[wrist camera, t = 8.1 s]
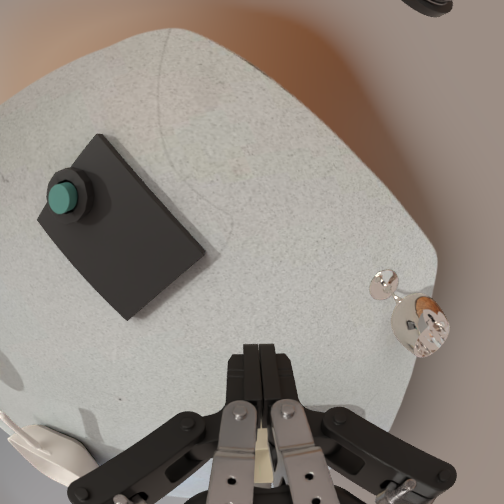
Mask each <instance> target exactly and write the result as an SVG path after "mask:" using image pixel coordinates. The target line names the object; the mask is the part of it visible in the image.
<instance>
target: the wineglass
mask: <svg viewBox="0 0 504 504" xmlns="http://www.w3.org/2000/svg"><path fill="white" fill-rule="evenodd" d="M397 286H398V276H397V274H396V273H395V272H394V271H393V270H389V269H387V270H383V271H381V272H379V273H377V274H376V275H375V276H374V278H373V279H372V281H371V283H370V286H369V291H370V294H371V296H372V297H373V298H374V299H376V300H384V299H386V298H388V297H390V296H392V297H393V298H394V300H395V302H396V304H397V305H396V306H395V308H394V310H393V313H392V316H391V327H392V331H393V333H394V335H395V337H396V338H397V340H398V341H399V342H400V343H401V344H402V345H403V346H404V347H405V348H406V349H407V350H409V351H410V352H411V353H413V354H414V355H415V356H417V357H426V356H429V355H430V354H432V353H434V352H435V351H436V350H438V349H439V348H440V347H441V346H442V344H443V343H444V342H445V340H446V338H447V336H448V334H449V330H450V325H449V323H448V321H447V319H446V317H445V315H444V313H443V311H442V310H441V308H440V307H439V306H438V304H437V303H436V302H435V301H434V300H433V299H432V298H430V297H429V296H427V295H425V294H422V293H413V294H410V295H407V296H406V297H404V298H403V299H402V298H400V297H398V296H397V295H395V294H394V292H395V290H396V288H397Z"/></svg>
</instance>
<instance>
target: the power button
mask: <svg viewBox="0 0 504 504" xmlns="http://www.w3.org/2000/svg"><path fill="white" fill-rule="evenodd" d="M77 200H78V194H77V190H76V188H75V187H74V185H73V184H71V183H69V182H64V183H61V184H57V185H55V186H53V187H52V189H51V190H50V192H49V205H50V207H51V209H52V210H53V211H54V212H55V213H57V214H63V213H65V212H67V211H70V210H72V209H73V208H74V207H75V206H76V204H77Z"/></svg>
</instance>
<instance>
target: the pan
mask: <svg viewBox="0 0 504 504" xmlns="http://www.w3.org/2000/svg"><path fill="white" fill-rule="evenodd" d="M0 418H1V419H2V420H3V421H4V422H5V423H6V424H7V425H8V426H9V427H10V428H11V429H12V430H14V431H15V433H14V434H13V435H12V436H11V437H9V438H8V441H9V442H10V443H11V444H12V446H13V447H14V448H15V449H16V450H17V451H18V452H19V453H20V454H21V455H22V456H23V457H24V458H25V459H26V460H27V461H28V462H30V463H31V464H32V465H33V466H34V467H35V468H36V469H37V470H39V471H40V472H41V473H43V474H44V475H46V476H47V477H49V478H51V479H53V480H55V481H56V482H58V483H61V484H63V485H65V486H67V487H69V485H70V484H71V483H72V482H73V481H75V480H77V479H78V478H80V477H82V476H84V475H85V474H87V473H89V472H91V471H92V470H94V469H96V468H98V467H99V465H98V464H97V462H96V461H95V459H94V458H93V457H92V456H91V455H90V453H89V452H88V451H87V449H86V448H85V447H84V446H83V445H82V444H81V443H80V442H79V441H78V440H76V439H74V438H71V437H69V436H66V435H64V434H62V433H59V432H57V431H55V430H52V429H50V428H48V427H46V426H43V425H29V426H25V427H22V428H20V427H18V426H17V425H16V424H15V423H14V422H13V421H12V420H11V419H10V418H9V417H8V416H7V415H6V414H5V413H4V412H2V411H0Z"/></svg>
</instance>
